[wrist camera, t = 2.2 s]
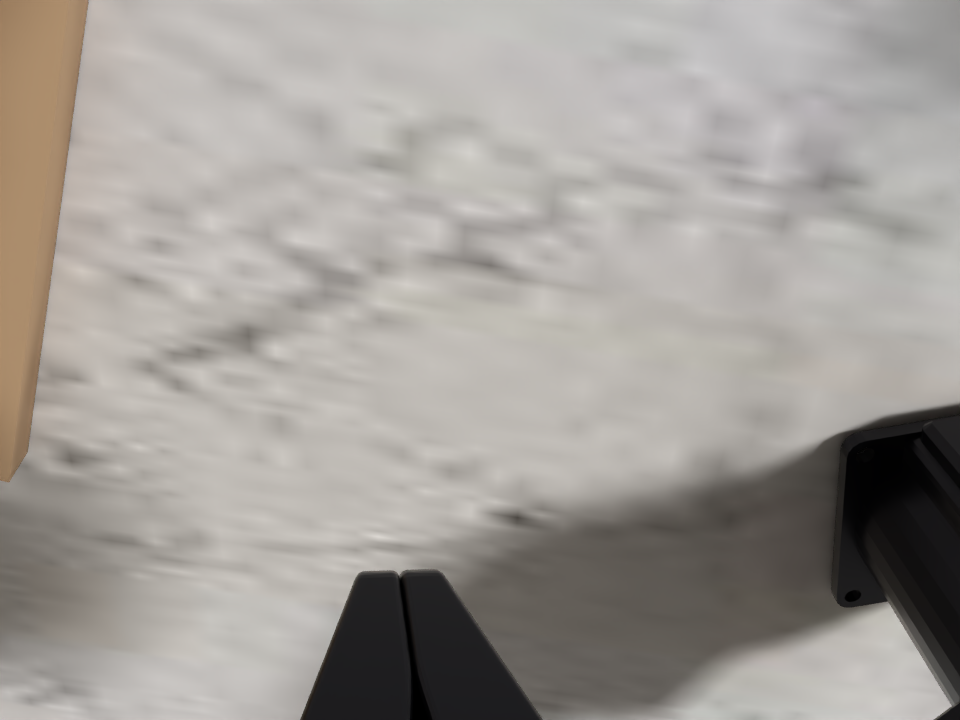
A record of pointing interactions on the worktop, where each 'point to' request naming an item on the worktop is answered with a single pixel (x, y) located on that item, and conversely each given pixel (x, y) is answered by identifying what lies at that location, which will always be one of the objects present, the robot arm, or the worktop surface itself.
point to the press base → (31, 192)
